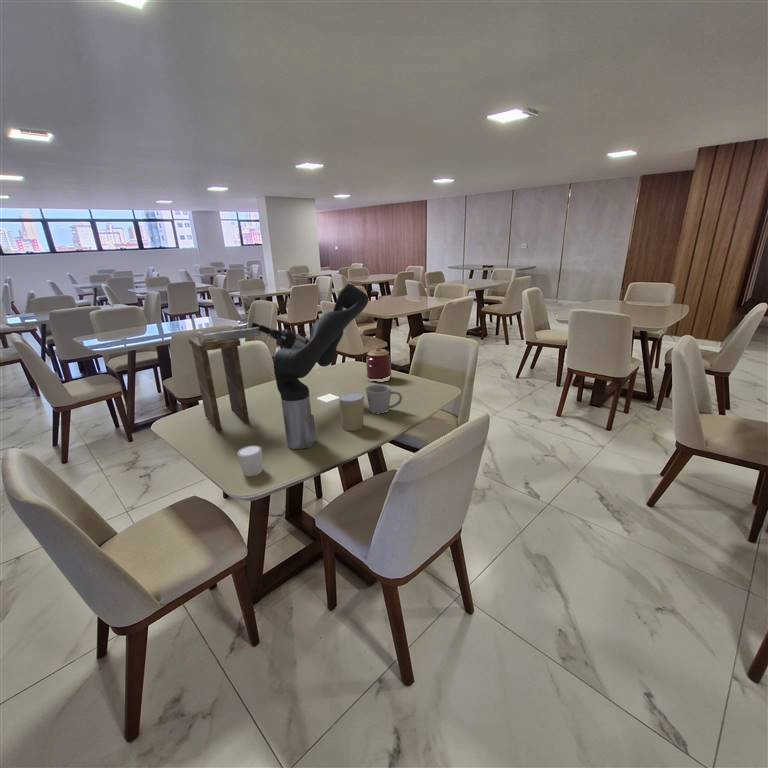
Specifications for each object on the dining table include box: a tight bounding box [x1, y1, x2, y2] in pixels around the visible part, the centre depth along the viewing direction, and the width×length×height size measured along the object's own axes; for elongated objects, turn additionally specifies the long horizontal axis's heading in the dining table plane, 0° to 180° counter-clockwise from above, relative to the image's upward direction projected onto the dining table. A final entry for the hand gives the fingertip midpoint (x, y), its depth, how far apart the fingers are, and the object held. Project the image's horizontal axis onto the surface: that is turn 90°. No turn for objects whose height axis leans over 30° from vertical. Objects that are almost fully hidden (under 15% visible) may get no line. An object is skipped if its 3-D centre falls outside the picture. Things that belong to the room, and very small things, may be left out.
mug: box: [365, 383, 403, 414], centre depth 154 cm, size 10×15×10 cm
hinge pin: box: [196, 327, 262, 344], centre depth 141 cm, size 22×4×4 cm, turn 126°
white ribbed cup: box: [237, 445, 263, 477], centre depth 113 cm, size 7×7×7 cm
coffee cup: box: [337, 392, 365, 432], centre depth 140 cm, size 9×9×12 cm
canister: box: [365, 346, 392, 379], centre depth 196 cm, size 13×13×18 cm
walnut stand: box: [188, 336, 250, 432], centre depth 148 cm, size 14×20×34 cm
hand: (255, 326), depth 147 cm, fingers open, 8 cm apart
